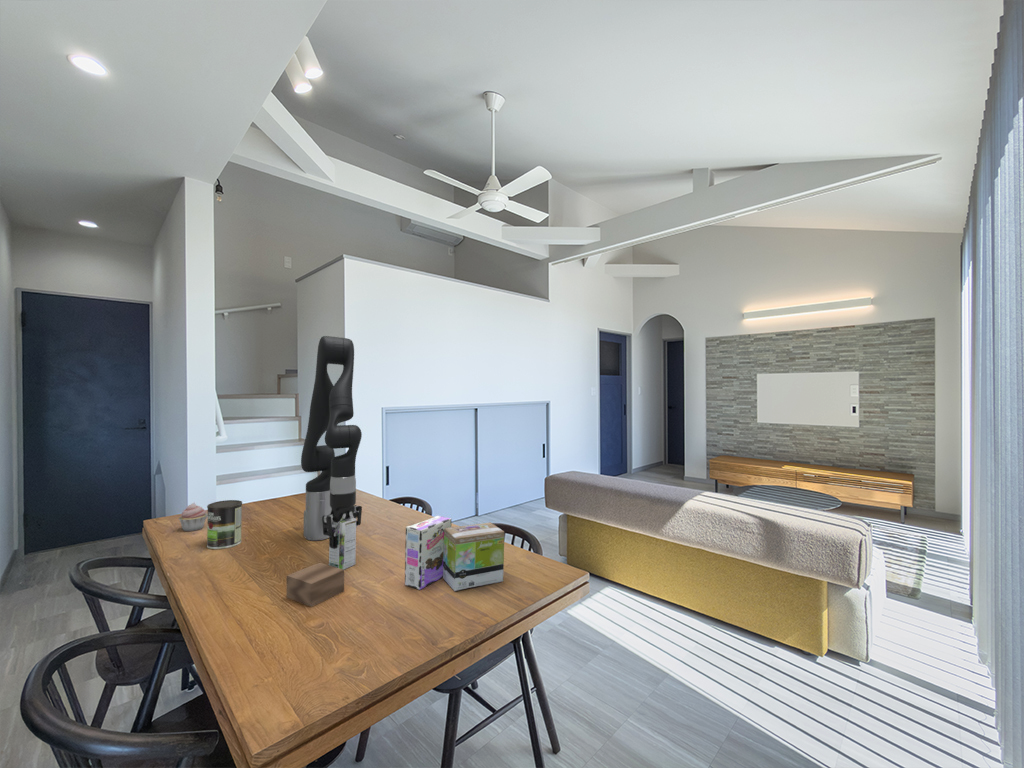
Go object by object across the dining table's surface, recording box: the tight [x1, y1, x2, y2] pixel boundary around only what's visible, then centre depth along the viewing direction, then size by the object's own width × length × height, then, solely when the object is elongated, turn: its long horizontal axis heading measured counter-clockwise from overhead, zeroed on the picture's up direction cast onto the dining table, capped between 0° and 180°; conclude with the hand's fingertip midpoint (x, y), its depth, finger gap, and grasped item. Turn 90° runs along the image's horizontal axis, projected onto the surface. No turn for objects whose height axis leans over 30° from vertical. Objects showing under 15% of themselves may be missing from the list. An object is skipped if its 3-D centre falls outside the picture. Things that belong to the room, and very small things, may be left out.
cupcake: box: [178, 502, 208, 532], centre depth 173 cm, size 9×9×10 cm
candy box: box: [404, 515, 452, 590], centre depth 130 cm, size 14×6×16 cm, turn 149°
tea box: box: [442, 521, 505, 592], centre depth 129 cm, size 15×10×15 cm
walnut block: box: [286, 562, 345, 608], centre depth 120 cm, size 10×10×6 cm
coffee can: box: [206, 499, 243, 550], centre depth 157 cm, size 10×10×14 cm
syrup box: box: [328, 518, 357, 571], centre depth 139 cm, size 6×6×14 cm
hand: (342, 544), depth 139 cm, fingers open, 6 cm apart
